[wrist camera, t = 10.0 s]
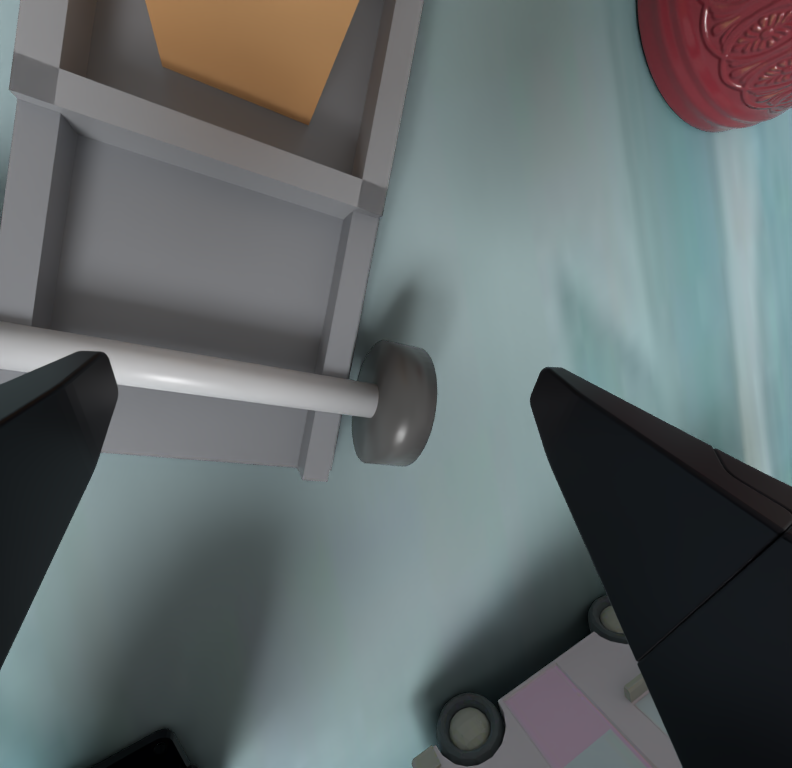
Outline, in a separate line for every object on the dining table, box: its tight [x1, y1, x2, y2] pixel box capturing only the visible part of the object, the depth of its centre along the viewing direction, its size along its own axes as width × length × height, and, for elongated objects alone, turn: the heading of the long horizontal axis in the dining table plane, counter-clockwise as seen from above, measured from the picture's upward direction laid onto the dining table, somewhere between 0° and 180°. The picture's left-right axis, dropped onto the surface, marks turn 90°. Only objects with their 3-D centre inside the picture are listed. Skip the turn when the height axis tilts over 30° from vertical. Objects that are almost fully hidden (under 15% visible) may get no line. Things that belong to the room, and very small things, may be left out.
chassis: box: [0, 0, 437, 482], centre depth 14 cm, size 22×17×5 cm
